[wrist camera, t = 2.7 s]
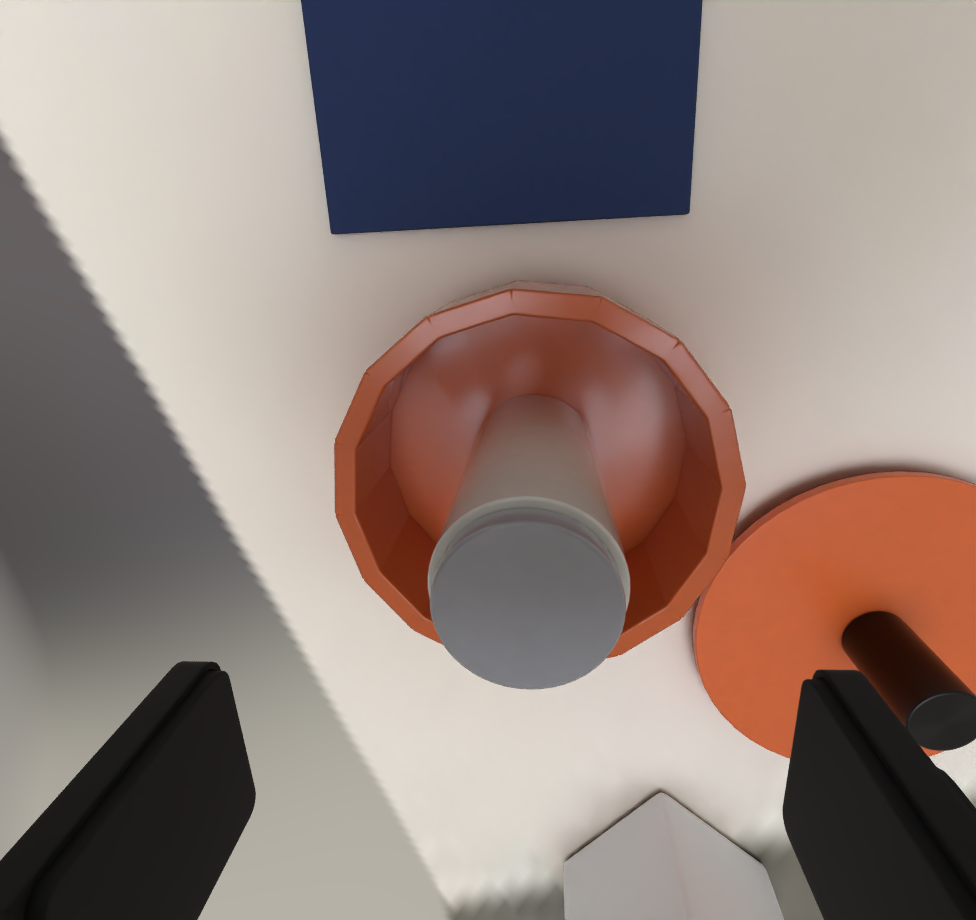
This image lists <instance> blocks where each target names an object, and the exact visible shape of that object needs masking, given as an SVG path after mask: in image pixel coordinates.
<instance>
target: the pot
mask: <svg viewBox="0 0 976 920" xmlns="http://www.w3.org/2000/svg"><path fill="white" fill-rule="evenodd" d="M526 395H543V396H549V397H552V398H555V399H558V400H560V401H563V402H565V403H566V404H568V405H569V406H571V407H572V408H574V409H575V410H576V411H577V412H578V413H579V414H580V415H581V416H582V417H583V418H584V420H585V421H586V423H587V424H588V426H589V428H590V430H591V432H592V435H593V438H594V441H595V445H596V449H597V453H598V456H599V460H600V464H601V468H602V471H603V475H604V479H605V483H606V486H607V490H608V494H609V498H610V501H611V505H612V509H613V513H614V516H615V520H616V524H617V528H618V531H619V535H620V539H621V543H622V546H623V550H624V554H625V558H626V561H627V565H628V570H629V575H630V589H631V590H630V599H629V604H628V607H627V611H626V615H625V622H624V626H623V629H622V632H621V635H620V637H619V639H618V641H617V643H616V645H615V646H614V648H613V650H612V651H611V653H610V654H609V655H608V656H607V657H606V658H610V657H615V656H618V655H622V654H623V653H625V652H627V651H628V650H630V649H632V648H633V647H635V646H637V645H638V644H640V643H642V642H643V641H645V640H647V639H648V638H650V637H652V636H654V635H655V634H657V633H659V632H660V631H662V630H664V629H665V628H667V627H669V626H670V625H672V624H674V623H675V622H677V621H679V620H680V619H681V617H683V616H684V615H685V614H686V612H687V611H688V610H689V609H690V607H691V606H692V605H693V603H694V602H695V601H696V600H697V598H698V597H699V596H700V594H701V593H702V592H703V591H704V589H705V588H706V587H707V585H708V584H709V583H710V582H711V580H712V579H713V578H714V576H715V575H716V574H717V573H718V571H719V570H720V569H721V567H722V566H723V565H724V564H725V562H726V559H728V556H729V552H730V548H731V544H732V540H733V536H734V532H735V528H736V524H737V520H738V516H739V512H740V508H741V504H742V500H743V496H744V493H745V489H746V488H745V486H746V482H745V477H744V472H743V467H742V462H741V457H740V451H739V446H738V441H737V436H736V431H735V426H734V421H733V415H732V410H731V409H730V408H729V405H728V403H727V402H726V401H725V399H724V398H723V397H722V395H721V394H720V393H719V391H718V390H717V388H716V387H715V386H714V384H713V383H712V382H711V380H710V379H709V378H708V376H707V375H706V374H705V372H704V371H703V370H702V368H701V367H700V366H699V364H698V363H697V361H696V360H695V359H694V357H693V356H692V355H691V353H690V352H689V351H688V349H687V348H686V347H685V345H684V344H683V343H682V342H681V341H680V340H679V339H678V338H677V337H675V336H674V335H672V334H671V333H669V332H668V331H666V330H664V329H663V328H661V327H660V326H658V325H657V324H655V323H654V322H652V321H651V320H649V319H647V318H645V317H643V316H641V315H640V314H638V313H636V312H634V311H632V310H631V309H629V308H627V307H625V306H623V305H622V304H620V303H618V302H616V301H614V300H612V299H611V298H609V297H607V296H605V295H603V294H602V293H600V292H598V291H596V290H594V289H592V288H589V287H584V286H573V285H562V284H556V283H539V282H528V281H518V282H517V281H515V282H512V283H509V284H506V285H503V286H500V287H497V288H493V289H490V290H487V291H483V292H481V293H478V294H475V295H472V296H469V297H466V298H463V299H460V300H457V301H454V302H452V303H450V304H448V305H446V306H444V307H443V308H441V309H439V310H437V311H435V312H434V313H432V314H430V315H428V316H426V317H425V318H424V319H423V320H421V321H420V322H419V323H418V324H417V325H416V326H415V327H414V328H412V329H411V330H410V331H409V332H408V333H407V334H406V335H405V336H404V337H402V338H401V339H400V340H399V341H398V342H397V343H396V344H395V345H394V346H392V347H391V348H390V349H389V350H388V351H387V352H386V353H385V354H384V355H382V356H381V357H380V358H379V359H378V360H377V361H376V362H375V363H374V364H372V365H371V366H370V367H369V368H368V369H367V370H366V372H365V373H364V375H363V377H362V379H361V382H360V384H359V386H358V389H357V391H356V393H355V395H354V398H353V400H352V402H351V405H350V407H349V409H348V411H347V414H346V416H345V418H344V420H343V423H342V425H341V427H340V430H339V432H338V434H337V436H336V439H335V444H334V454H335V513H336V518H337V520H338V522H339V525H340V527H341V529H342V532H343V534H344V536H345V539H346V541H347V543H348V545H349V548H350V550H351V552H352V555H353V557H354V559H355V562H356V564H357V566H358V568H359V571H360V573H361V575H362V578H363V579H364V581H365V582H366V583H367V584H368V585H369V586H370V587H371V588H372V589H373V590H374V591H375V592H376V593H377V594H378V595H379V596H380V597H381V598H382V599H383V600H384V601H385V602H386V603H387V604H388V605H389V606H390V607H391V608H392V609H393V610H394V611H395V612H396V613H397V614H398V615H399V616H400V617H401V618H402V619H403V620H404V621H405V622H406V623H407V625H408V626H409V627H410V628H411V629H413V630H414V631H416V632H418V633H420V634H422V635H424V636H426V637H428V638H430V639H432V640H434V641H436V642H438V643H441V644H443V643H442V642H441V640H440V638H439V636H438V634H437V632H436V630H435V627H434V624H433V620H432V616H431V610H430V598H429V593H428V569H429V564H430V560H431V557H432V554H433V551H434V548H435V545H436V543H437V540H438V537H439V535H440V532H441V529H442V526H443V524H444V521H445V518H446V516H447V513H448V510H449V507H450V505H451V502H452V499H453V497H454V494H455V491H456V488H457V486H458V483H459V480H460V477H461V475H462V472H463V469H464V467H465V464H466V461H467V458H468V456H469V453H470V450H471V448H472V445H473V442H474V439H475V437H476V434H477V432H478V429H479V427H480V425H481V424H482V422H483V421H484V419H485V418H486V417H487V416H488V414H489V413H490V412H491V411H493V410H494V409H495V408H496V407H498V406H499V405H501V404H502V403H504V402H506V401H508V400H510V399H513V398H516V397H520V396H526Z"/></svg>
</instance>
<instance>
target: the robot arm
mask: <svg viewBox="0 0 976 920" xmlns="http://www.w3.org/2000/svg"><path fill="white" fill-rule="evenodd" d="M255 795H256V793H255V787H254V782H253V778H252V774H251V769H250V765H249V760H248V756H247V752H246V747H245V743H244V739H243V734H242V730H241V726H240V721H239V717H238V713H237V709H236V704H235V700H234V696H233V691H232V687H231V683H230V679H229V676H228V674H227V673H226V672H225V671H221V669H220V667H219V665H218V664H217V663H215V662H187V661H182V662H179V663H177V664H176V665H175V666H174V667H173V668H172V669H171V670H170V671H169V672H168V673H167V674H166V676H165V677H164V678H163V679H162V680H161V681H160V682H159V683H158V685H157V686H156V687H155V688H154V689H153V690H152V691H151V692H150V693H149V695H148V696H147V697H146V698H145V699H144V700H143V701H142V702H141V704H140V705H139V706H138V707H137V708H136V709H135V710H134V711H133V712H132V714H131V715H130V716H129V717H128V718H127V719H126V720H125V722H124V723H123V724H122V725H121V726H120V727H119V728H118V729H117V730H116V732H115V733H114V734H113V735H112V736H111V737H110V738H109V739H108V741H107V742H106V743H105V744H104V745H103V746H102V747H101V748H100V749H99V751H98V752H97V753H96V754H95V755H94V756H93V757H92V758H91V760H90V761H89V762H88V763H87V764H86V765H85V766H84V767H83V769H82V770H81V771H80V772H79V773H78V774H77V775H76V777H75V778H74V779H73V780H72V781H71V782H70V783H69V785H68V786H66V788H65V789H64V790H63V791H62V792H61V793H60V794H59V795H58V797H57V798H56V799H55V800H54V801H53V802H52V803H51V804H50V806H49V807H48V808H47V809H46V810H45V811H44V813H42V815H41V816H40V817H39V818H38V819H37V820H36V821H35V822H34V824H33V825H32V826H31V827H30V828H29V829H28V830H27V831H26V833H25V834H24V835H23V836H22V837H21V838H20V839H19V840H18V842H17V843H16V844H15V845H14V846H13V847H12V848H11V849H10V851H9V852H8V853H7V854H6V855H5V856H4V857H3V858H2V860H1V861H0V920H197V919H198V917H199V916H200V914H201V912H202V910H203V908H204V906H205V904H206V902H207V900H208V898H209V896H210V894H211V892H212V890H213V888H214V886H215V884H216V882H217V881H218V878H219V877H220V875H221V873H222V871H223V869H224V867H225V865H226V863H227V861H228V859H229V857H230V855H231V853H232V851H233V849H234V847H235V845H236V843H237V842H238V840H239V838H240V836H241V834H242V832H243V830H244V828H245V826H246V824H247V822H248V820H249V818H250V816H251V814H252V811H253V808H254V804H255ZM783 820H784V825H785V829H786V832H787V835H788V838H789V840H790V842H791V844H792V847H793V849H794V851H795V854H796V856H797V858H798V861H799V863H800V865H801V867H802V870H803V872H804V874H805V877H806V879H807V881H808V884H809V886H810V888H811V891H812V893H813V895H814V897H815V900H816V902H817V904H818V907H819V909H820V911H821V914H822V916H823V918H824V920H976V808H975V807H974V806H973V804H972V803H971V802H970V801H969V799H968V798H967V797H966V796H965V794H964V793H963V792H962V791H961V789H960V788H959V787H958V786H957V784H956V783H955V782H954V781H953V780H952V779H951V778H950V777H949V776H948V775H947V774H946V773H945V772H944V771H943V770H941V769H939V768H937V767H936V766H935V765H934V763H933V762H932V761H931V759H930V758H929V757H928V756H927V754H926V753H925V752H924V751H923V749H922V748H921V747H920V745H919V744H918V743H917V742H916V740H915V739H914V738H913V736H912V735H911V734H910V733H909V731H908V730H907V729H906V728H905V726H904V725H903V724H902V722H901V721H900V720H899V719H898V717H897V716H896V715H895V714H894V712H893V711H892V710H891V708H890V707H889V706H888V705H887V703H886V702H885V701H884V700H883V698H882V697H881V696H880V694H879V693H878V692H877V691H876V689H875V688H874V687H873V686H872V684H871V683H870V682H869V680H868V679H867V678H866V677H865V676H864V675H863V674H862V673H861V672H860V671H857V670H824V669H820V670H816V671H815V673H814V674H813V678H812V679H806V680H804V681H803V682H802V686H801V692H800V699H799V705H798V712H797V718H796V725H795V731H794V738H793V744H792V751H791V757H790V764H789V770H788V777H787V783H786V790H785V796H784V803H783Z"/></svg>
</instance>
